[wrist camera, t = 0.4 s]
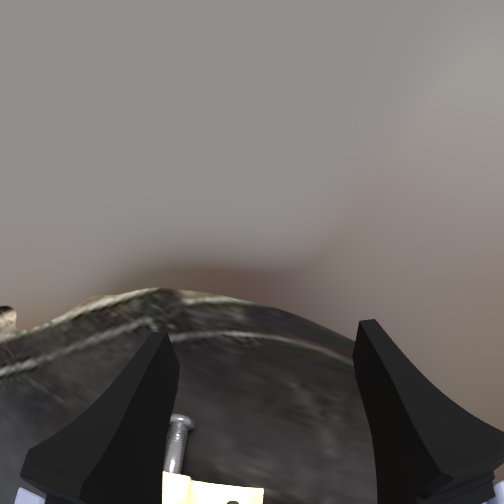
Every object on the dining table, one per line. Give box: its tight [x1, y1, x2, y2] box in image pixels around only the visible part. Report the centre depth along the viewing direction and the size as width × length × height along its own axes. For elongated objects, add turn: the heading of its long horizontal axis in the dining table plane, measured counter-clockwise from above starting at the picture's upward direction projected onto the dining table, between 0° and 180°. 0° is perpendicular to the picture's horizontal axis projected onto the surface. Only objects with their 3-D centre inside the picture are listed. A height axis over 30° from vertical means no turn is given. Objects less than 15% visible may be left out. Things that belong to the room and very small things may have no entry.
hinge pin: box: [163, 414, 195, 475], centre depth 22 cm, size 9×3×3 cm, turn 176°
